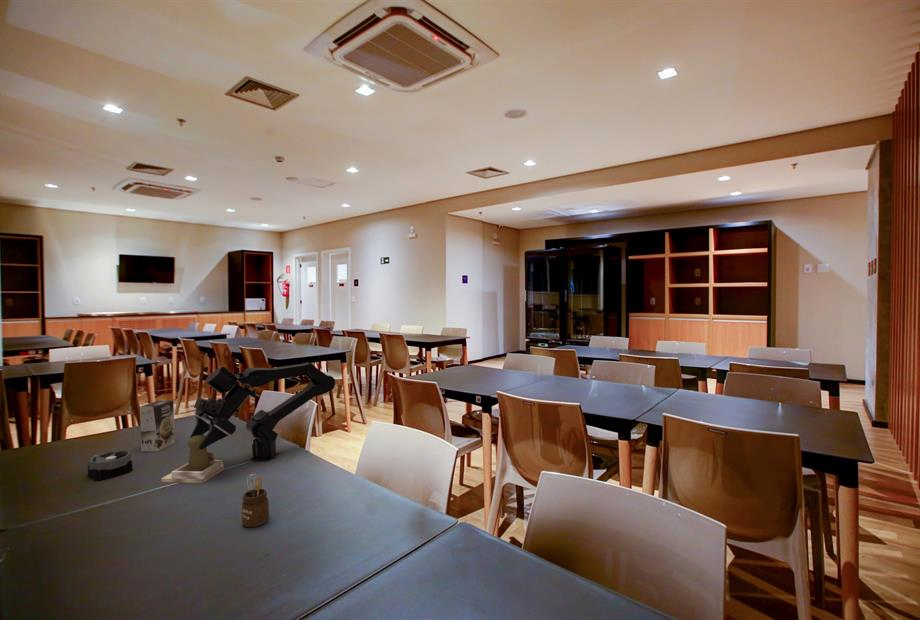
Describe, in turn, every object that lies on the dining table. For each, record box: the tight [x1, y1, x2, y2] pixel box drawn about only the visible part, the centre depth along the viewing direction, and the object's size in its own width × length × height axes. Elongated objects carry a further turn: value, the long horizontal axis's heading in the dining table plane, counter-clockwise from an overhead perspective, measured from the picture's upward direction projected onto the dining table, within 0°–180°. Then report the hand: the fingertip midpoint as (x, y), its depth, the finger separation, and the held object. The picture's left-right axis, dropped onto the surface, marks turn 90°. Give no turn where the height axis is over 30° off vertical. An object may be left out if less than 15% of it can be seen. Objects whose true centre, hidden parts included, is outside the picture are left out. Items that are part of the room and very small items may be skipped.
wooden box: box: [160, 451, 225, 484], centre depth 133 cm, size 13×10×6 cm
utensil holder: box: [241, 473, 270, 528], centre depth 105 cm, size 6×6×12 cm
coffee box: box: [139, 399, 176, 452], centre depth 158 cm, size 9×6×16 cm
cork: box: [187, 434, 210, 472], centre depth 133 cm, size 6×6×11 cm
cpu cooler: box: [87, 450, 133, 482], centre depth 135 cm, size 10×6×10 cm
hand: (194, 445), depth 132 cm, fingers open, 9 cm apart
